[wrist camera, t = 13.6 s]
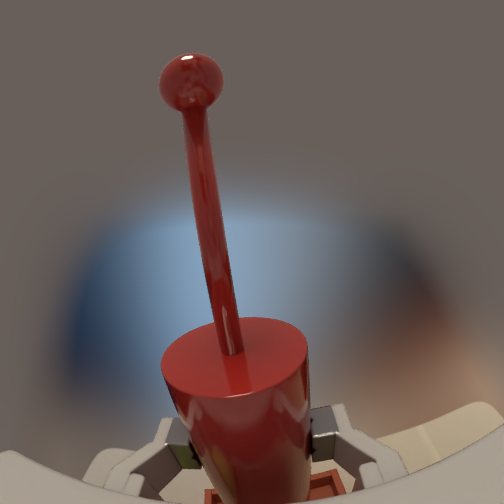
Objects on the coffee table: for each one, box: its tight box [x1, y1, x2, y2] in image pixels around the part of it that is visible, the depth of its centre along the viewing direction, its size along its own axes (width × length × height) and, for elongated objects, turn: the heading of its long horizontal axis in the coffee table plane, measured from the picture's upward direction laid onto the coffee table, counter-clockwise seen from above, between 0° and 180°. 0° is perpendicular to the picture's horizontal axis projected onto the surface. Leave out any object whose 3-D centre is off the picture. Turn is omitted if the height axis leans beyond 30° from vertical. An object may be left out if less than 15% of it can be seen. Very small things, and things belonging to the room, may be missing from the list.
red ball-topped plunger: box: [158, 53, 311, 504], centre depth 8 cm, size 4×4×18 cm
